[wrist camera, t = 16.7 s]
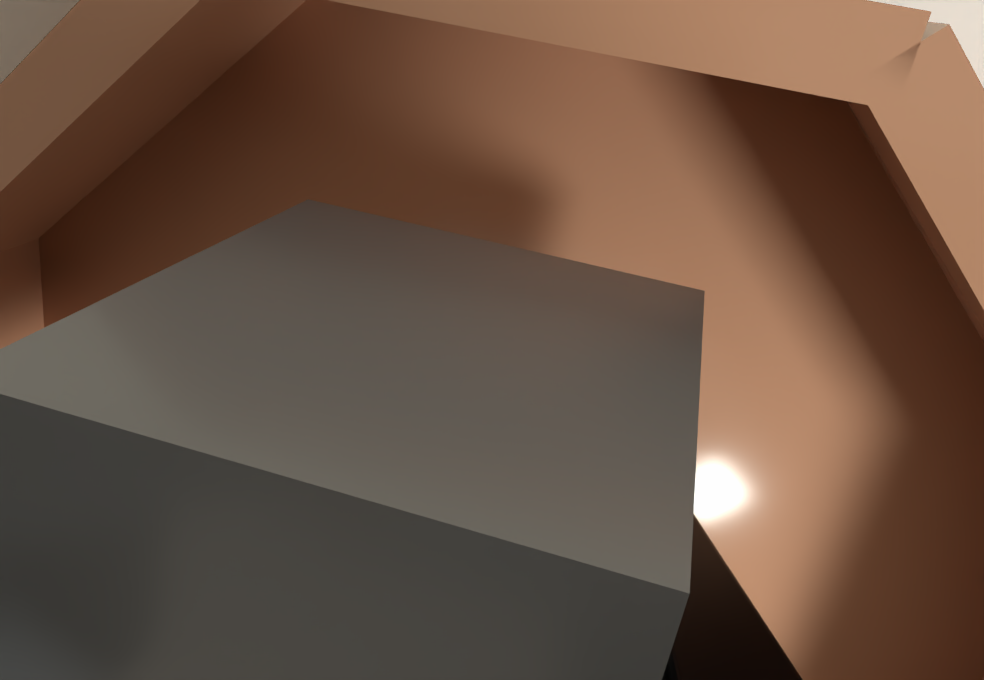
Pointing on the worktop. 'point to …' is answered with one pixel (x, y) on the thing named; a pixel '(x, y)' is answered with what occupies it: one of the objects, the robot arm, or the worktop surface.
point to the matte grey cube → (352, 465)
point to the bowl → (599, 234)
